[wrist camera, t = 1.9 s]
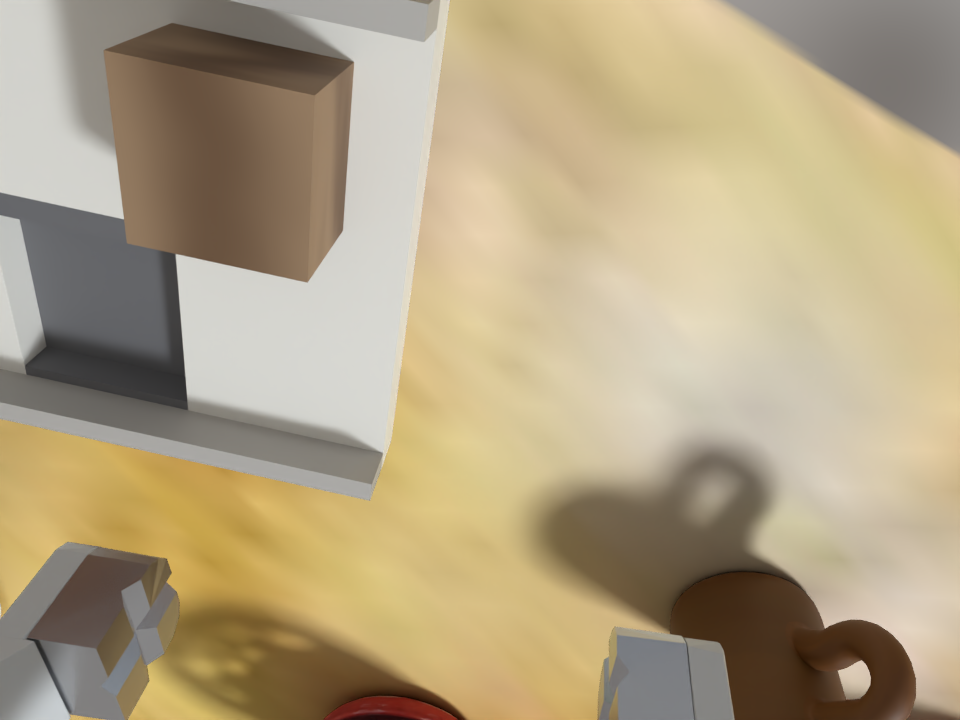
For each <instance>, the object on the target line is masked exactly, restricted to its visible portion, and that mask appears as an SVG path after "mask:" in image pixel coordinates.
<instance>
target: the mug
mask: <svg viewBox="0 0 960 720" xmlns="http://www.w3.org/2000/svg"><path fill="white" fill-rule="evenodd" d="M670 634H672V635H679V636H682V637H683V638H691V639H699V640H706V641H714V642H718V643H720V645H721V646H722V648H723V650H724V655H725V661H726V668H727V674H728V680H729V687H730V693H731V700H732V706H733V713H734V719H735V720H907V718H908V717H909V716H910V714H911V711H912V708H913V705H914V701H915V698H916V678H915V674H914V671H913V667H912V663H911V661H910V659H909V657H908V655H907V653H906V652H905V650H904V648H903V646H902V645H901V644H900V643H899V641H898V640H897V639H896V638H895V637H894V636H893V635H892V634H890V633H889V632H888V631H887V630H885V629H883V628H882V627H880V626H879V625H877V624H874V623H871V622H867V621H863V620H847V621H842V622H839V623H836V624H834V625H831V626H829V627H828V628H826V629H825V628H824V625H823V622H822V619H821V616H820V614H819V612H818V609H817V607H816V606H815V604H814V602H813V601H812V600H811V598H810V597H809V596H808V595H807V594H806V593H805V592H804V591H802V590H801V589H800V588H799V587H797V586H796V585H794V584H792V583H791V582H789V581H787V580H784V579H782V578H779V577H776V576H773V575H768V574H763V573H755V572H733V573H726V574H721V575H717V576H713V577H710V578H707V579H705V580H702V581H700V582H698V583H696V584H695V585H693V586H691V587H690V588H689V589H687V590H686V591H685V592H684V593H683V594H682V595H681V596H680V598H679V599H678V601H677V602H676V604H675V606H674V608H673V610H672V614H671V620H670ZM860 660H862V661H864V663H865V664H866V665H867V667H868V669H869V672H870V676H871V685H870V687H869V689H868V691H867V692H866V694H865V695H864V696H863V697H861V698H860V699H855V700H846V698H845V695H844V691H843V688H842V684H841V681H840V678H839V674H838V671H837V670H841V669H844V668H847V667H849V666H851V665H853V664H854V663H856V662H858V661H860Z"/></svg>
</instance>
